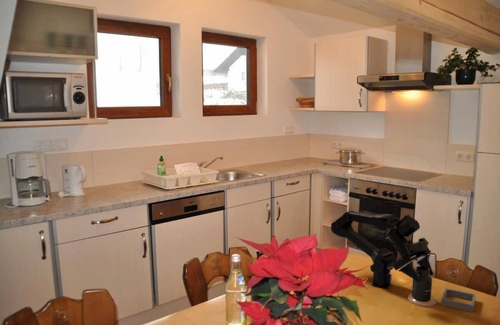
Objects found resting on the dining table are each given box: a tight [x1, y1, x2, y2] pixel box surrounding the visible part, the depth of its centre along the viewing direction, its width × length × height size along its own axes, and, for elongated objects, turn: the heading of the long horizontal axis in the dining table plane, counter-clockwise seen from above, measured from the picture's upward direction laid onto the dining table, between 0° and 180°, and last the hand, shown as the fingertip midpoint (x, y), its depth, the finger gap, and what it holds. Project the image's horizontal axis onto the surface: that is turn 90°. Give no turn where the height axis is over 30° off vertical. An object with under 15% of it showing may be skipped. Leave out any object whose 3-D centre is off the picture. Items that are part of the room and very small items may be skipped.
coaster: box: [407, 292, 437, 308], centre depth 158 cm, size 10×10×1 cm
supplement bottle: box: [411, 265, 433, 302], centre depth 158 cm, size 7×7×12 cm
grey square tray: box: [440, 287, 477, 313], centre depth 156 cm, size 11×11×2 cm
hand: (426, 278), depth 156 cm, fingers open, 9 cm apart
